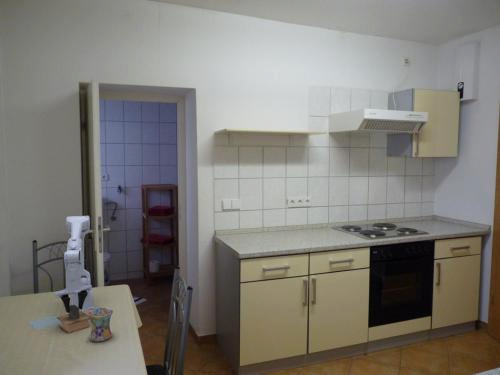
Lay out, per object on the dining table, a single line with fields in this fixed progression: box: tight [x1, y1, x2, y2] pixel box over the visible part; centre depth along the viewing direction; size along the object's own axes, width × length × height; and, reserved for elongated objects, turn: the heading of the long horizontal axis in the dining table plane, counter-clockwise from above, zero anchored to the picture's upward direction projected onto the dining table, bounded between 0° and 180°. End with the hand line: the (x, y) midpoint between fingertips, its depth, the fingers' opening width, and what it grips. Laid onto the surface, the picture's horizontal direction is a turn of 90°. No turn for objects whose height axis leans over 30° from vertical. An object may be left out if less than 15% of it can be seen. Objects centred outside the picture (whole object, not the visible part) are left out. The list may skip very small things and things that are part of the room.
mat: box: [27, 315, 61, 331], centre depth 171 cm, size 11×11×1 cm
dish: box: [60, 319, 89, 334], centre depth 167 cm, size 8×8×4 cm
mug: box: [87, 307, 114, 342], centre depth 159 cm, size 12×9×11 cm
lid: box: [56, 304, 90, 326], centre depth 167 cm, size 10×10×5 cm
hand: (74, 310), depth 167 cm, fingers open, 5 cm apart
